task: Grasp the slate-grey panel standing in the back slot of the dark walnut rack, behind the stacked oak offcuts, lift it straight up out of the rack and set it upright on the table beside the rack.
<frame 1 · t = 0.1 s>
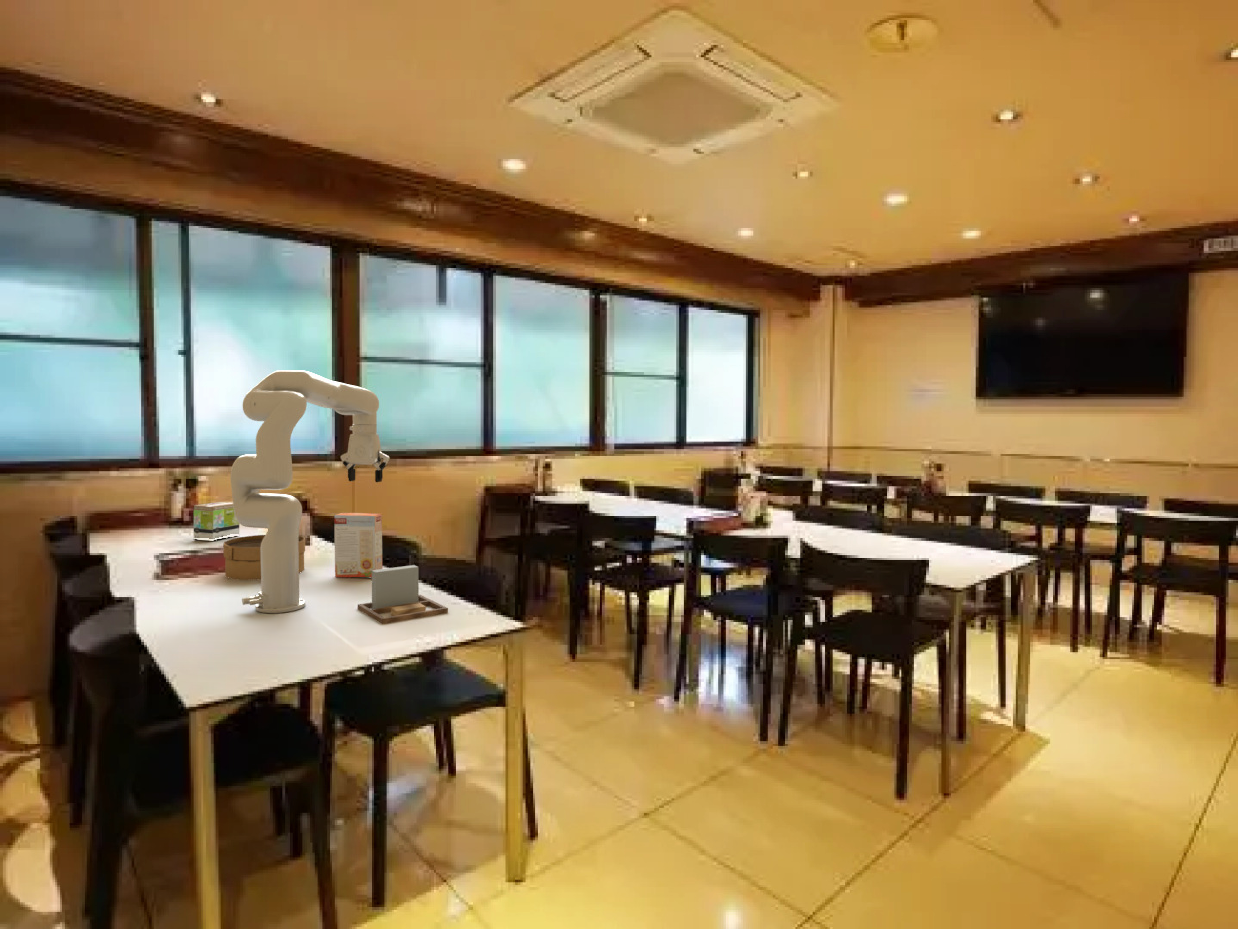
hand: (365, 481, 245), 31 cm above the table, tool pointing down, fingers open, 9 cm apart
upper offcut: (408, 613, 195), point 1 cm above the table, touching lower offcut
lower offcut: (408, 620, 195), on the table, touching upper offcut
cracker box: (359, 576, 243), on the table
rack: (395, 611, 202), on the table
tea box: (217, 539, 308), on the table
steamer basket: (265, 573, 247), on the table
grey panel: (395, 590, 201), in the rack
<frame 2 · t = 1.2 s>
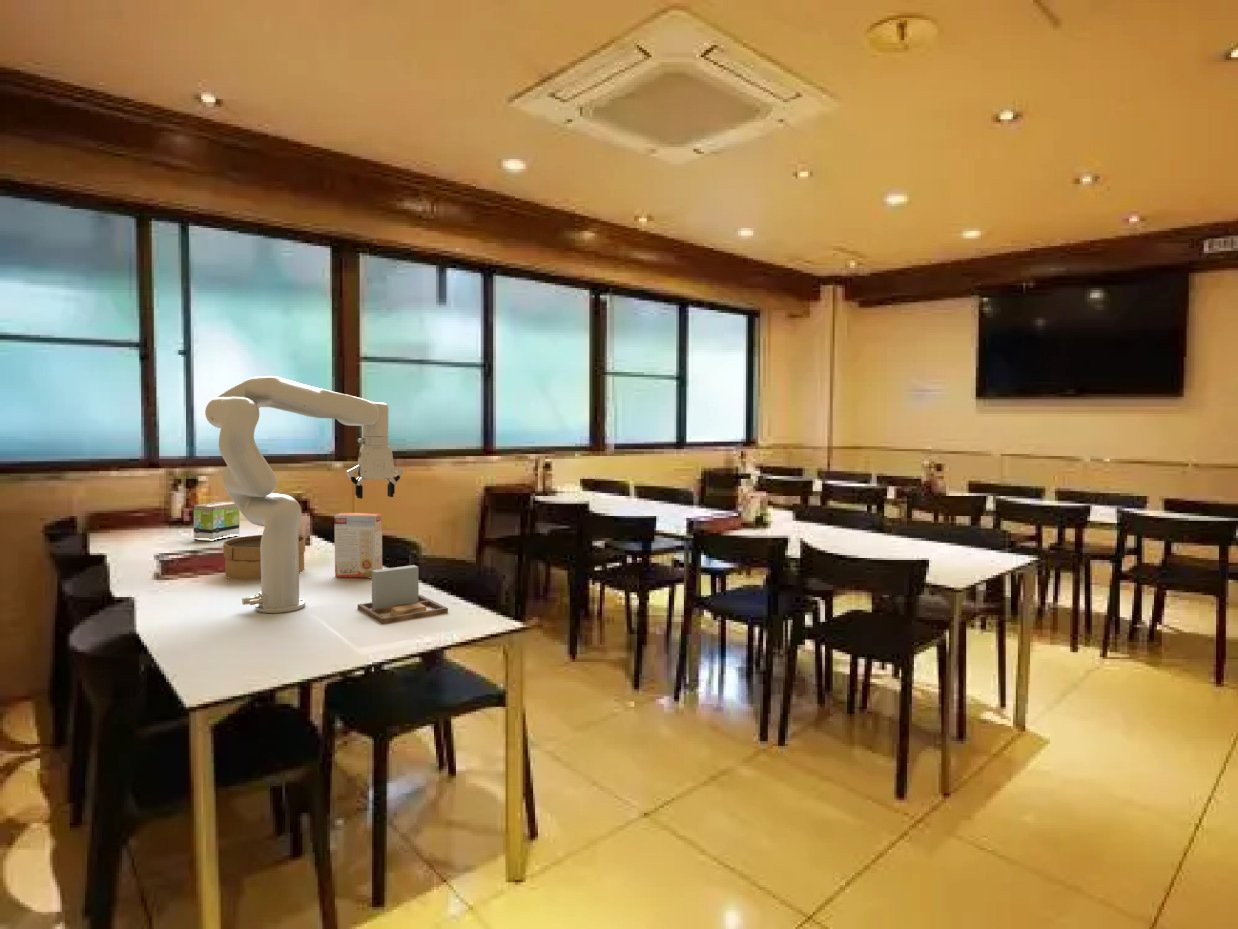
hand: (375, 497, 228), 28 cm above the table, tool pointing down, fingers open, 9 cm apart
nothing on the table moved.
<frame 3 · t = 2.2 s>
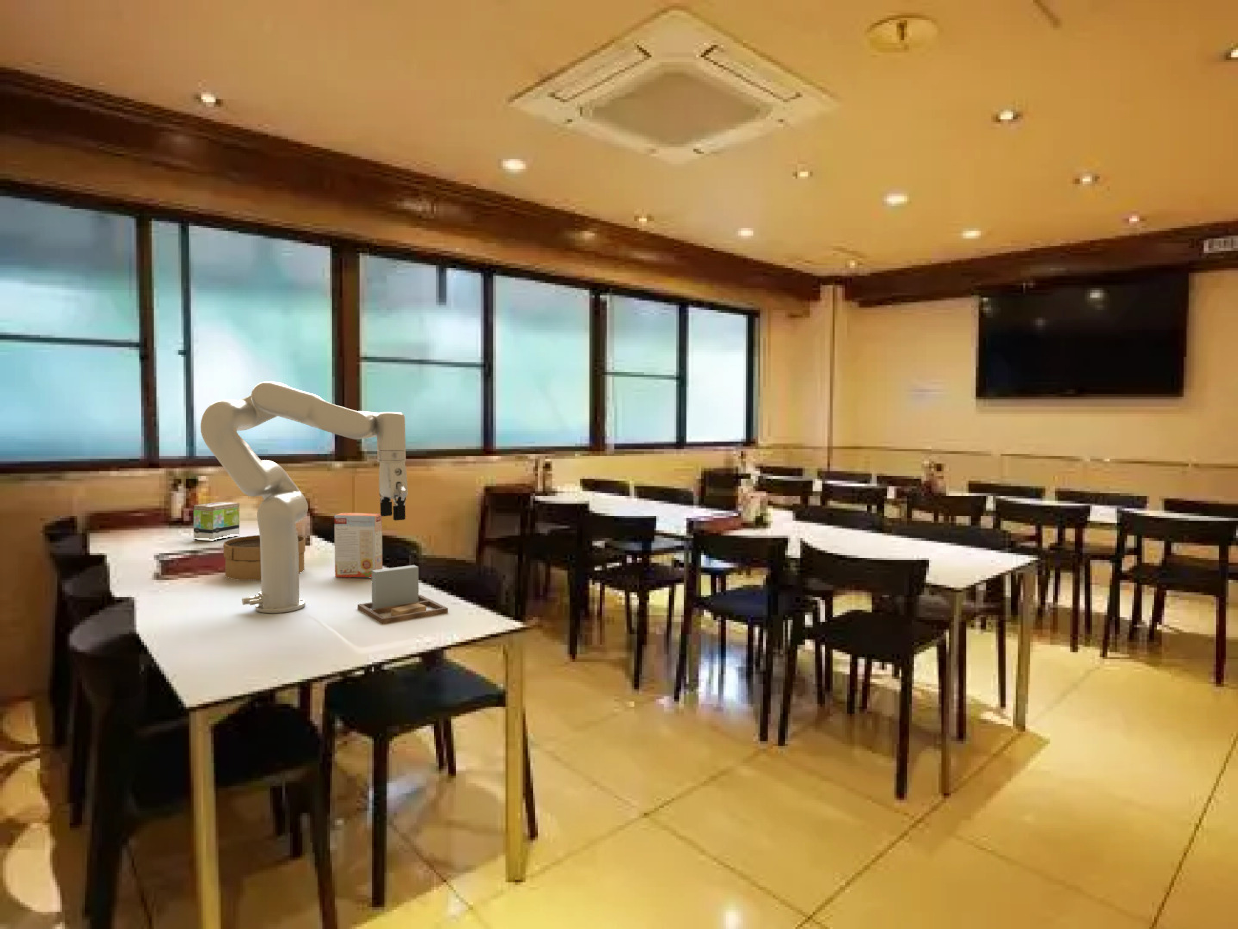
hand: (392, 517, 205), 25 cm above the table, tool pointing down, fingers open, 9 cm apart
nothing on the table moved.
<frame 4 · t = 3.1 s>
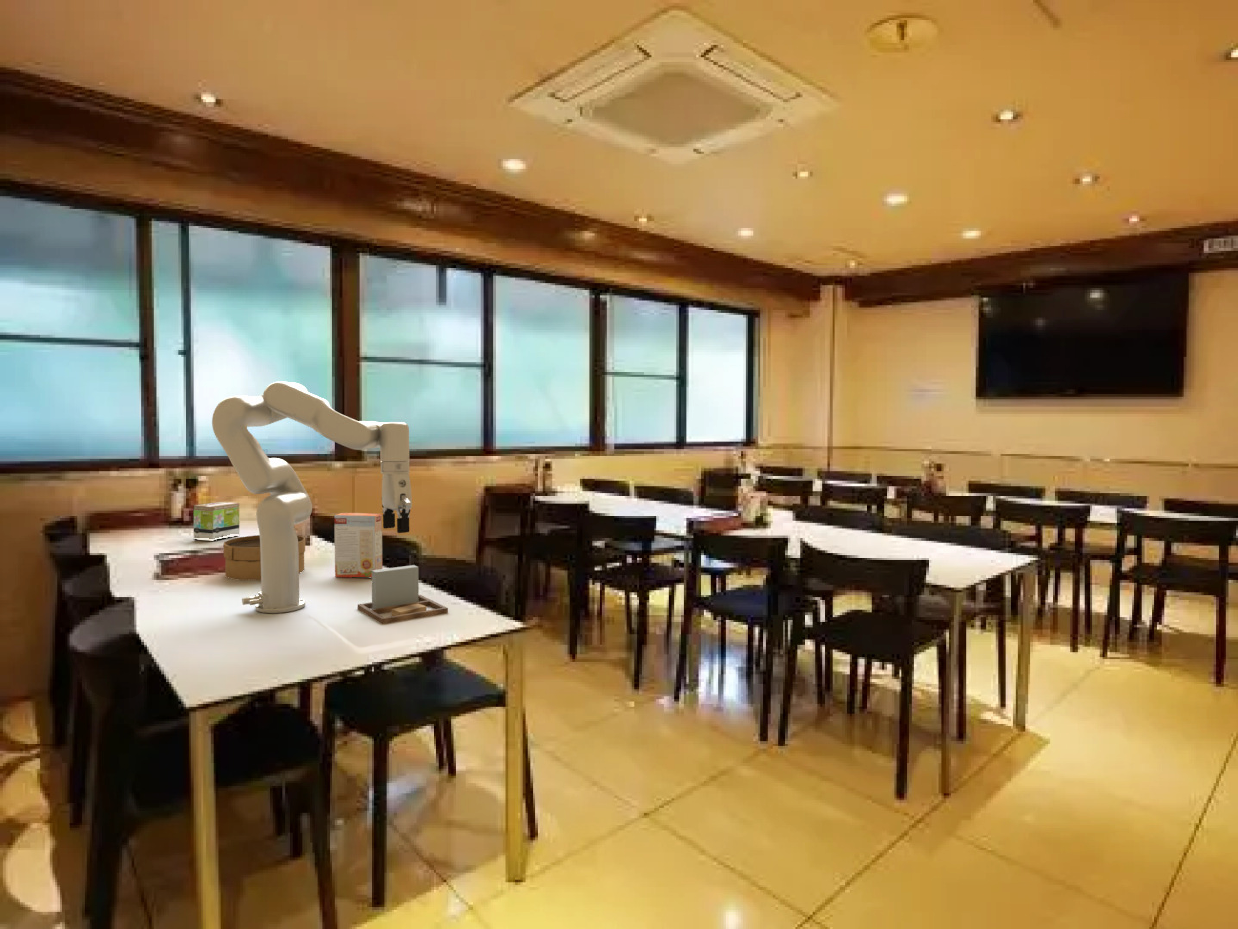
hand: (396, 530, 200), 23 cm above the table, tool pointing down, fingers open, 9 cm apart
nothing on the table moved.
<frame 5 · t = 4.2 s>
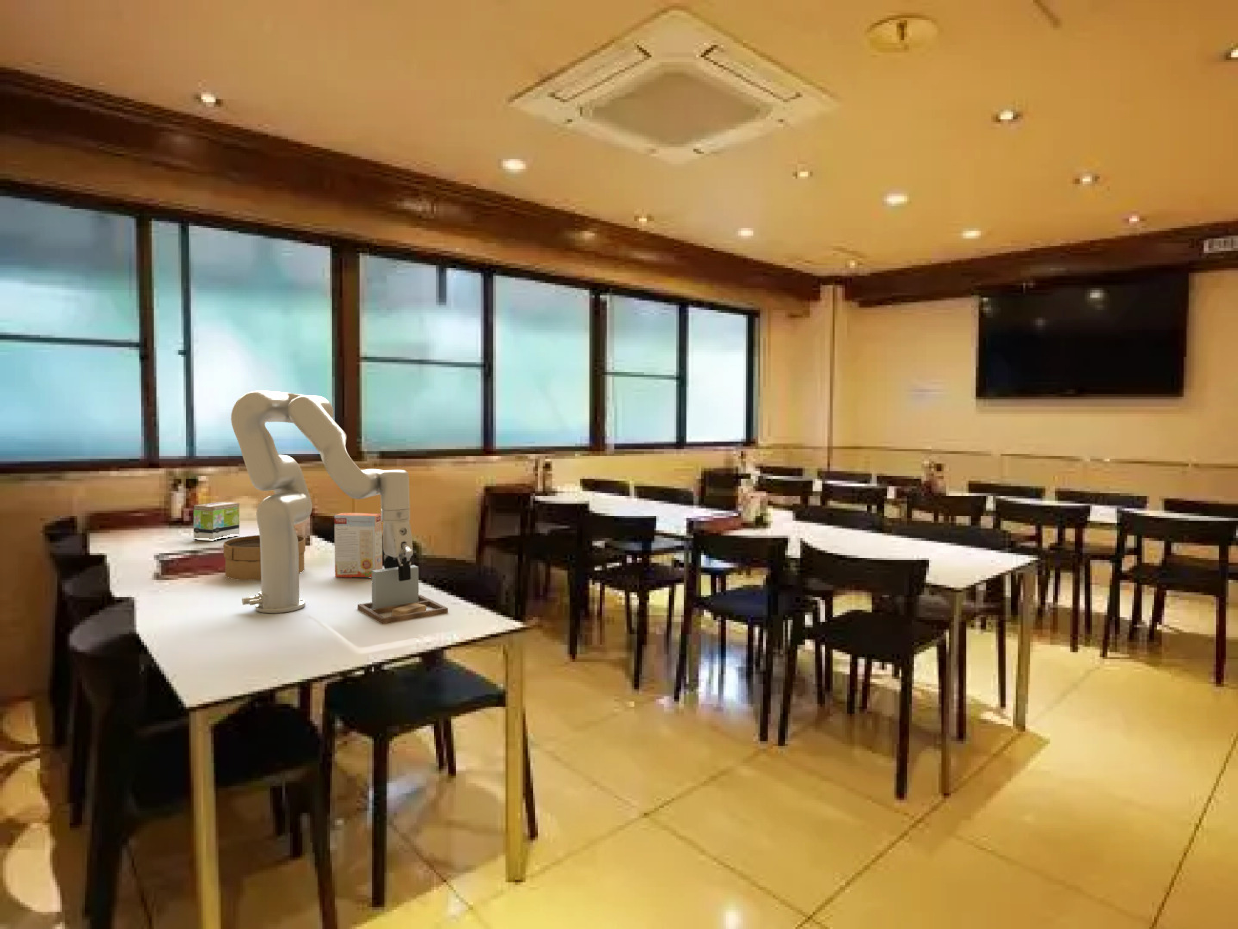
hand: (397, 577, 201), 10 cm above the table, tool pointing down, fingers open, 9 cm apart
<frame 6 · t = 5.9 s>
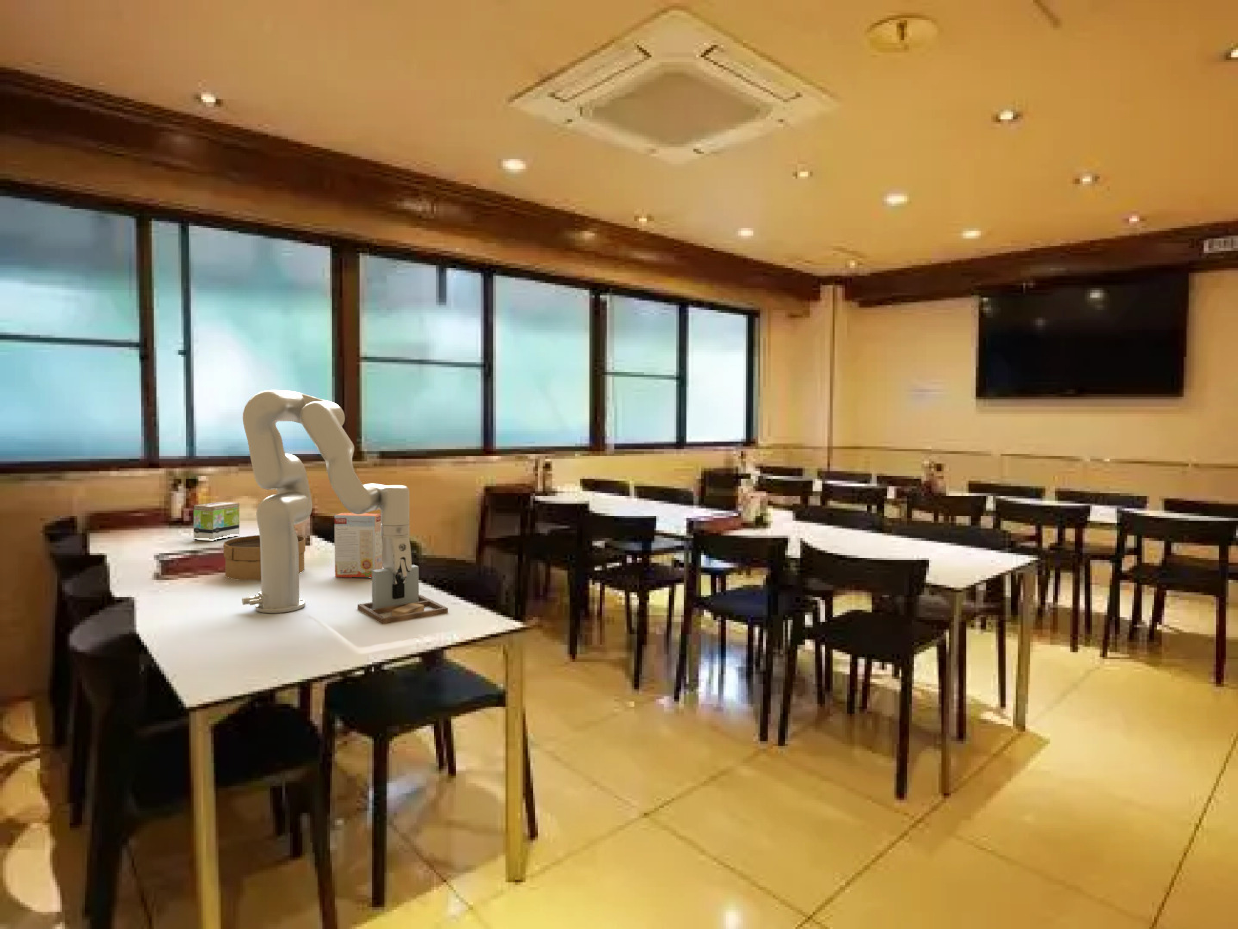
hand: (395, 596, 201), 4 cm above the table, tool pointing down, fingers closed on grey panel, 3 cm apart
grey panel: (395, 590, 201), in the rack, touching gripper
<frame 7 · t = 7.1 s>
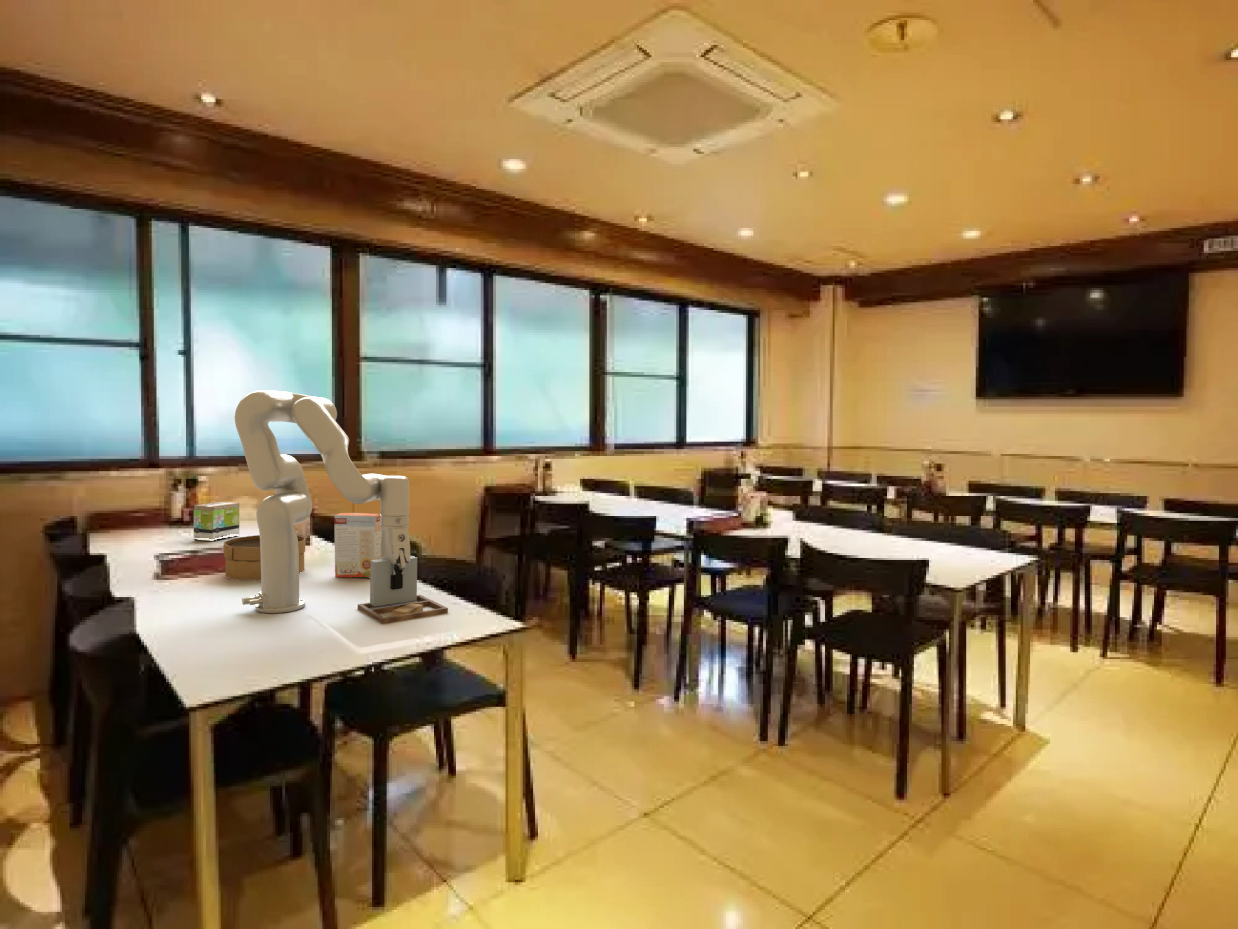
hand: (393, 586, 201), 7 cm above the table, tool pointing down, fingers closed on grey panel, 3 cm apart
upper offcut: (407, 614, 195), point 1 cm above the table
lower offcut: (408, 621, 195), on the table
grey panel: (393, 580, 201), point 9 cm above the table, touching gripper
everything else where it was.
when the fingers open (6 cm above the table, at t = 14.7 s): grey panel drops 1 cm, on the table.
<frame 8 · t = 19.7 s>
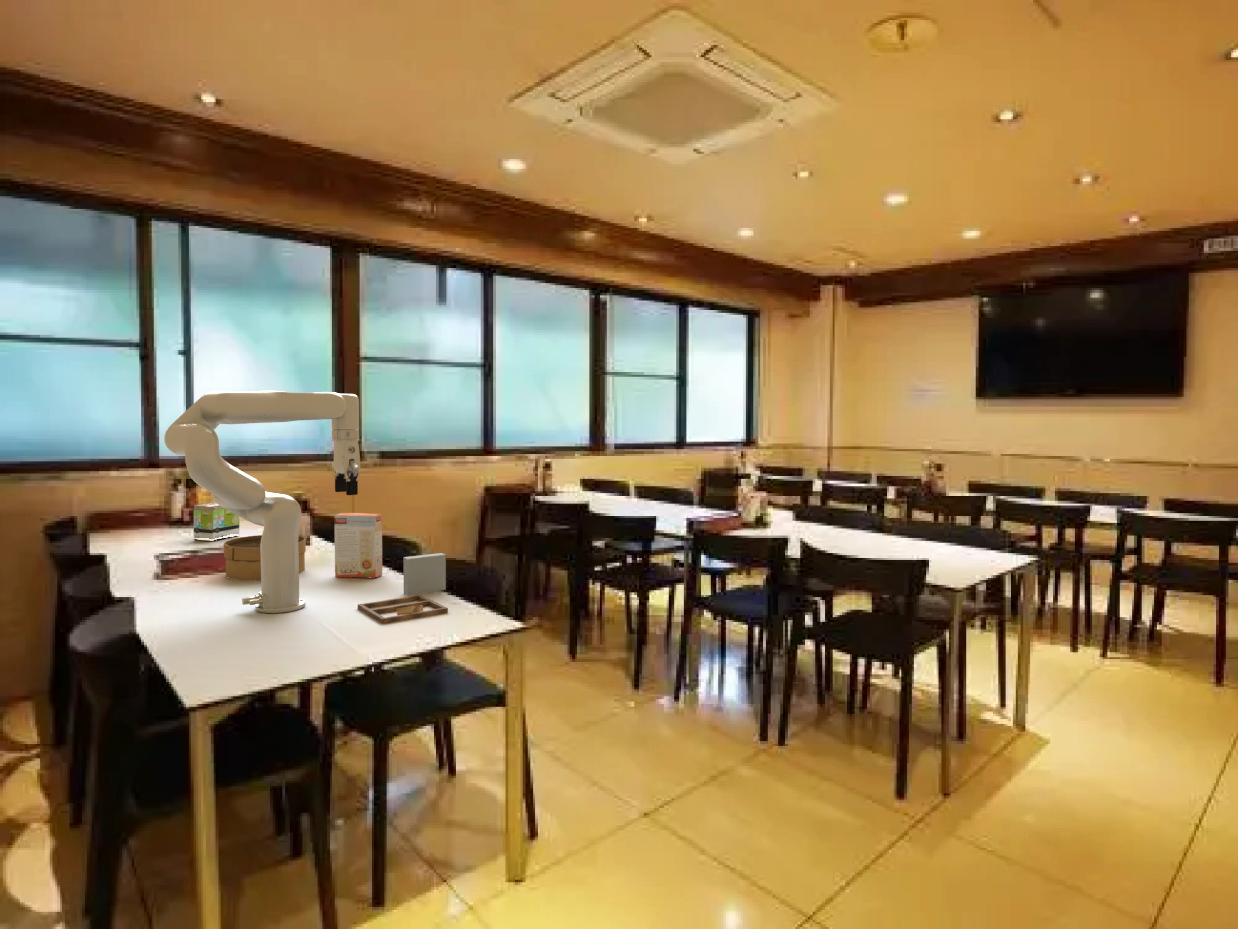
hand: (346, 493, 218), 30 cm above the table, tool pointing down, fingers open, 9 cm apart
upper offcut: (410, 613, 195), point 1 cm above the table, tilted 17°
lower offcut: (413, 621, 194), on the table, touching rack
grey panel: (424, 575, 219), on the table
everything else where it was.
at the end: grey panel inside the target area (0.1 cm from its centre), on the table; grey panel tilted 0°; upper offcut moved 0.8 cm from its start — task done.
